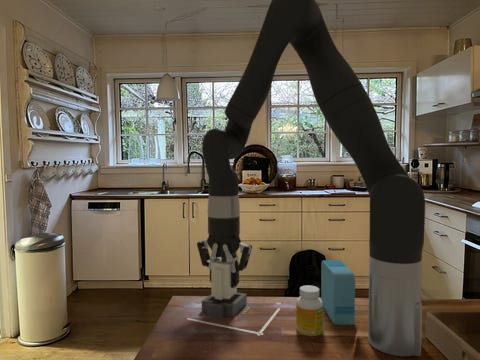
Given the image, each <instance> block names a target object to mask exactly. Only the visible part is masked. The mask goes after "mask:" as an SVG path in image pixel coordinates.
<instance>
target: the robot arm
mask: <svg viewBox="0 0 480 360" xmlns="http://www.w3.org/2000/svg"><path fill="white" fill-rule="evenodd" d="M289 44H290V45H291V47H292V48H293V49H294V51H295V52H296V54H297V55H298V57H299V59H300V60H301V62H302V63H303V66H304V68H305V70H306V72H307V75H308V79H309V83H310V87H311V90H312V93H313V96H314V98H315V101H316V104H317V106H318V108H319V110H320V112H321V113H322V115H323V117H324V119H325V121H326V122H327V125H328V126H329V128H330V130H332V132H333V134H334V136H335V137H336V138H337V140H338V141H339V143H340V144H341V145H342V147H343V148H344V149H345V151H346V153H348V155H349V156H350V157H351V159H352V160H353V162H354V163H355V166H356V167H357V170H358V171H359V174H360V176H361V178H362V181H363V183H364V186H365V188H366V190H367V193H368V196H369V235H368V236H369V237H368V239H369V240H368V245H369V246H368V247H369V253H368V255H369V258H368V261H369V262H368V264H369V265H368V268H369V269H368V329H367V330H368V331H367V332H368V337H367V339H368V343H369V344H370V346H371V347H373V349H375V350H378V351H379V352H382V353H384V354H387V355H390V356H396V357H413V356H415V357H421V356H422V328H423V327H422V325H423V324H422V323H423V320H422V319H423V314H422V313H423V304H422V270H423V269H422V266H423V264H422V261H423V260H422V259H423V256H422V255H423V248H424V243H425V228H426V227H425V224H426V223H425V221H426V220H425V219H426V216H425V215H426V197H425V194H424V190H423V188H422V186H421V185H420V183H418V182H417V181H416V180H415V179H413V178H412V177H410V175H409V174H408V173H407V172H406V170H405V169H404V167H403V166H402V163H400V161H399V160H398V159H397V157H396V155H395V154H394V152H393V150H392V149H391V147H390V145H389V143H388V140H387V137H386V134H385V131H384V129H383V126H382V123H381V120H380V118H379V115H378V113H377V110H376V108H375V106H374V105H373V102H372V100H371V98H370V96H369V94H368V92H367V91H366V89H365V87H364V85H363V84H362V82H361V81H360V79H359V77H358V75H357V74H356V73H355V71H354V70H353V68H352V66H351V64H349V62H347V60H346V59H345V58H344V56H343V55H342V54H341V52H340V51H339V49H338V47H337V46H336V44H335V43H334V40H333V38H332V36H331V34H330V32H329V29H328V27H327V24H326V22H325V19H324V16H323V14H322V11H321V9H320V6H319V4H318V2H317V0H271V2H270V4H269V6H268V9H267V11H266V14H265V17H264V20H263V23H262V26H261V29H260V31H259V34H258V36H257V40H256V42H255V44H254V48H253V49H252V53H251V55H250V58H249V60H248V63H247V65H246V67H245V70H244V71H243V74H242V76H241V78H240V80H239V81H238V84H237V86H236V87H235V90H234V91H233V93H232V95H231V97H230V99H229V100H228V102H227V105H226V107H225V109H224V114H225V116H226V118H227V119H228V120H227V123H226V126H225V128H219V127H217V128H215V127H213V128H210V129H209V130H208V131H207V132H206V133H205V134H204V136H203V139H202V145H201V149H202V151H201V152H202V157H203V160H204V161H203V162H204V165H205V169H206V174H207V176H208V201H207V233H208V237H207V239H203V240H199V241H198V242H196V243H197V244H196V246H197V250H198V254H199V257H200V258H199V259H200V261H201V265H202V266H203V267H206V268H208V269H209V282H210V283H211V263H212V262H215V261H216V260H219V259H220V258H221V257H224V258H227V262H228V263H229V264H231V271H232V272H231V288H235V287H236V286H237V287H238V285H239V283H240V272H242V271H243V270H244V269H246V268H247V267H248V265H249V259H250V256H251V252H252V249H253V245H252V244H250V243H249V244H246V243H243V242H242V240H241V238H240V233H241V231H240V229H241V228H240V227H241V224H240V222H241V221H240V220H241V219H240V217H241V215H240V212H241V211H240V210H241V209H240V208H241V206H240V197H239V174H238V173H237V172H236V171H235V170H234V169H232V168H231V163H230V160H234V159H236V158H237V157H239V156H240V154H241V153H242V152H243V150H244V149H245V147H246V145H247V142H248V138H249V137H250V133H251V131H252V126H253V123H254V121H255V120H256V118H257V116H258V115H259V112H260V111H261V109H262V107H263V106H264V104H265V102H266V100H267V98H268V96H269V92H270V90H271V87H272V83H273V80H274V77H275V73H276V70H277V66H278V64H279V61H280V60H281V57H282V55H283V53H284V52H285V50H286V48H287V47H288V45H289ZM209 249H210V250H211V253H210V252H209ZM239 249H240V253H241V255H240V259H239V255H238V252H237V251H238V250H239Z"/></svg>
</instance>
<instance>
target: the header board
mask: <svg viewBox="0 0 480 360" xmlns="http://www.w3.org/2000/svg"><path fill="white" fill-rule="evenodd" d="M280 310H281V308H279V307H278V308H277V309H276V311H274V312H273V314H272V315H271V316H270V318H269V319H268V320H267V322H265V324H264V325H263V326H262V328H261V329H260V330H259V331H253V330H249V329H243V328H238V327H233V326H229V325H224V324H219V323H214V322H210V321H209V322H208V321H205V320H200V319H194V318H189V317H187V318H186V320H188V321H193V322H197V323H202V324H207V325H212V326H217V327H221V328H227V329H232V330H236V331H240V332H246V333H251V334H255V335H256V336H259V337H260V336H263V335H264V333H263V332H264V331H265V330H266V328H267V327H268V326H269V325H270V323H271V322H272V320H274V319H275V317H276V315H277V314H278V313H279V311H280Z"/></svg>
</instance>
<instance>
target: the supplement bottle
mask: <svg viewBox="0 0 480 360" xmlns="http://www.w3.org/2000/svg"><path fill="white" fill-rule="evenodd" d="M320 293H321V291H320V288H319V287H317V286H314V285H302V286H300V287H299V297H297V299H296V303H295V305H296V306H295V307H296V310H295V312H296V313H295V315H296V321H295V322H296V324H295V326H296V331H297V332H298V333H299V334H301V335H303V336H306V337H317V336H320V335H322V333H323V332H324V307H323V302H322V300H321V297H320Z"/></svg>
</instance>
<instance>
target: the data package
mask: <svg viewBox="0 0 480 360" xmlns="http://www.w3.org/2000/svg"><path fill="white" fill-rule="evenodd" d="M320 268H321V271H320V273H321V275H320V276H321V283H320V285H321V286H320V287H321V288H320V293H321V295H320V299H321V300H322V302H323V309H324V310H325V312H326V314H327V315H328V317H329V319H330V321H331V323H332V324H333V325H338V326H339V325H341V326H343V325H347V326H348V325H352V326H353V325H355V324H356V323H355V320H356V319H355V318H356V317H355V316H356V315H355V314H356V310H355V309H356V307H355V306H356V299H355V298H356V277H355V274H354V272H353V271H352V270H351V269H350V268H349V267H348V266H347V265H346V264H345V263H344V262H343V261H342V260H337V259H334V260H333V259H331V260H327V259H326V260H325V259H324V260H322V261H321V267H320Z"/></svg>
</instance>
